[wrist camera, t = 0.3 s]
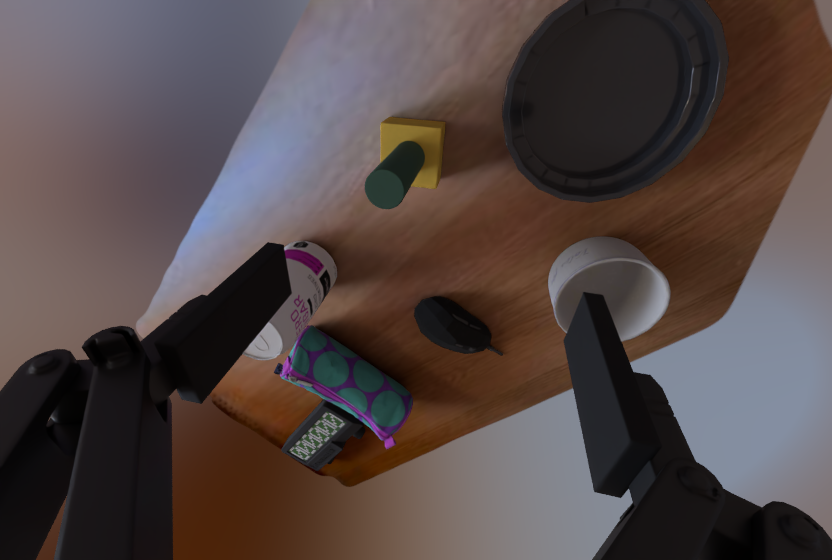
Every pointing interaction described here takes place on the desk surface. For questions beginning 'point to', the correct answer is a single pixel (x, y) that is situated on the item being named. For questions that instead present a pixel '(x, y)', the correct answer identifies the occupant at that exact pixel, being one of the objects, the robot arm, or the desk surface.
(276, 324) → the supplement can
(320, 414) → the digital display
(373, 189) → the green peg on stand
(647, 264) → the teacup
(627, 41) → the bowl
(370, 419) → the pencil case
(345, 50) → the desk surface
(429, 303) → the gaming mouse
